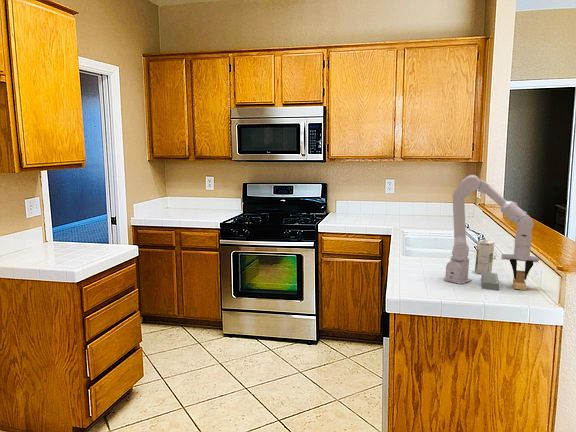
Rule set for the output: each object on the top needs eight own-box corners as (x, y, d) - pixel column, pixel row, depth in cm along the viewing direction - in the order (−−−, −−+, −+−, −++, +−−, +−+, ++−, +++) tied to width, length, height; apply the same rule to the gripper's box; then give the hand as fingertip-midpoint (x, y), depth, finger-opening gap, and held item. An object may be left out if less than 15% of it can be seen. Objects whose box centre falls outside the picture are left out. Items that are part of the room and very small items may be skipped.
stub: (514, 288, 184) (515, 273, 183) (512, 282, 193) (513, 268, 192) (525, 290, 182) (527, 275, 182) (523, 283, 192) (524, 269, 191)
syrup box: (478, 270, 214) (480, 239, 212) (492, 273, 210) (494, 241, 208) (474, 273, 209) (476, 241, 207) (488, 275, 206) (490, 242, 204)
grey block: (481, 288, 185) (482, 282, 184) (481, 277, 201) (481, 271, 201) (498, 290, 182) (499, 283, 182) (496, 279, 199) (497, 273, 199)
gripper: (503, 245, 185) (500, 278, 186) (544, 248, 179) (541, 283, 181) (502, 242, 191) (499, 274, 193) (542, 245, 186) (539, 278, 188)
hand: (519, 278), depth 187 cm, fingers closed on stub, 3 cm apart
